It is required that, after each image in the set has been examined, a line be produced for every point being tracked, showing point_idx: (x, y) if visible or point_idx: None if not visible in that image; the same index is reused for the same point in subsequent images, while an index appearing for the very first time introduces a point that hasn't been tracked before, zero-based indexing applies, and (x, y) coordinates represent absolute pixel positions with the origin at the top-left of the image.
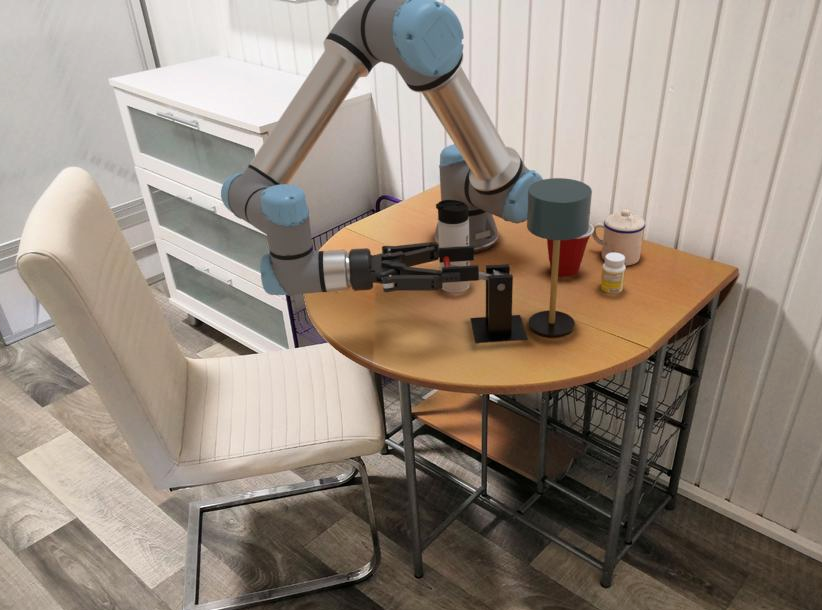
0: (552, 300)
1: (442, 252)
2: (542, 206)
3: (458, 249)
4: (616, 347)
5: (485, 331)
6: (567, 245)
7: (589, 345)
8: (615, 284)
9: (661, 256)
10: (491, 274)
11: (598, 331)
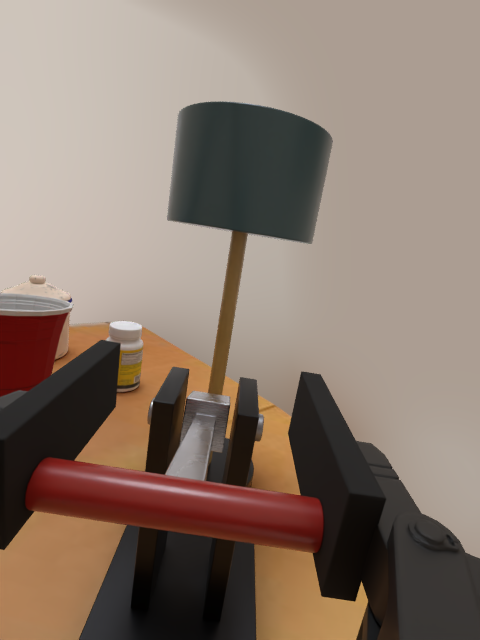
0: None
1: (21, 450)
2: (317, 146)
3: (86, 377)
4: (273, 426)
5: (188, 626)
6: (52, 331)
7: (265, 448)
8: (140, 365)
9: (70, 335)
10: (199, 414)
11: None
